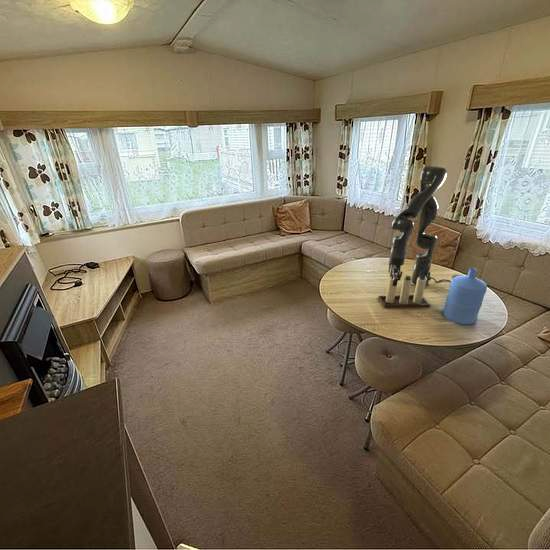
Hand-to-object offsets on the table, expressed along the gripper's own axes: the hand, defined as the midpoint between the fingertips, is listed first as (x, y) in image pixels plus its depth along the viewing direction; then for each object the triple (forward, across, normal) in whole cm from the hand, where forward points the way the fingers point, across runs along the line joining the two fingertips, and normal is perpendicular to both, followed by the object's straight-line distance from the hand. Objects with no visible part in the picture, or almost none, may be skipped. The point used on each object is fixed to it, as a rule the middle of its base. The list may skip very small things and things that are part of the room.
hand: (392, 283), depth 167 cm
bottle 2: (+13, 0, -16) cm, 20 cm away
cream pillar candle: (+12, 0, 0) cm, 12 cm away
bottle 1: (+13, 0, -8) cm, 15 cm away
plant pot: (+13, +7, -44) cm, 46 cm away
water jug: (+13, -15, -32) cm, 38 cm away
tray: (+13, 0, -8) cm, 15 cm away
